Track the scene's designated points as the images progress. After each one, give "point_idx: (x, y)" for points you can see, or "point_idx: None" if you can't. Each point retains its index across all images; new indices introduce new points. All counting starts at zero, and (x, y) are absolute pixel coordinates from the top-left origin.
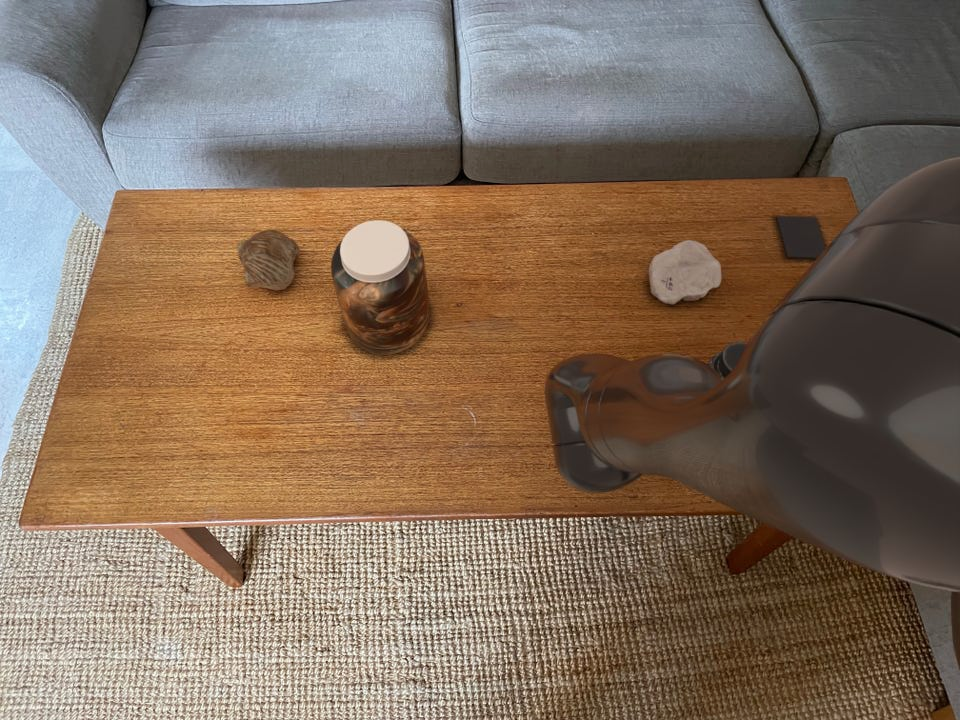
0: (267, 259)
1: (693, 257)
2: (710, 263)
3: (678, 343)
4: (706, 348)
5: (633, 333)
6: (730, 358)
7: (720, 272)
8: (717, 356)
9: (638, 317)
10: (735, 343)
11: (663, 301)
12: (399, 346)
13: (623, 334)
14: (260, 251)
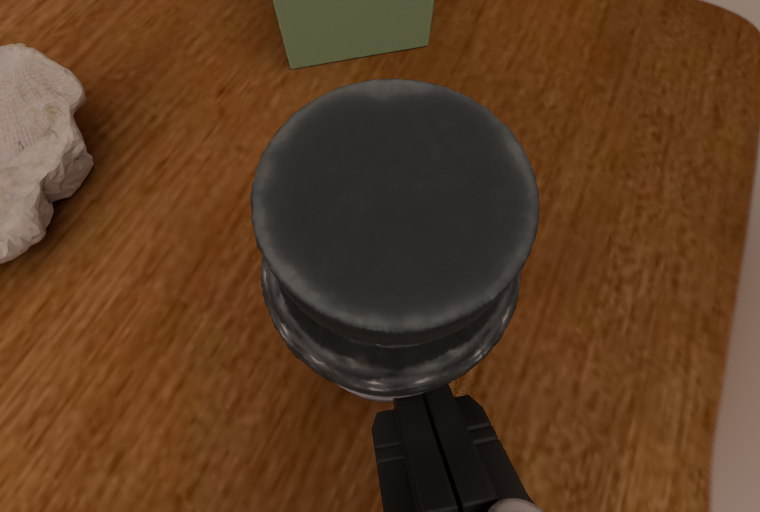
0: None
1: None
2: (3, 65)
3: (168, 295)
4: (231, 233)
5: (42, 410)
6: (349, 261)
7: (49, 60)
8: (276, 283)
9: (11, 355)
10: (268, 161)
11: (4, 259)
12: None
13: (18, 447)
14: None
